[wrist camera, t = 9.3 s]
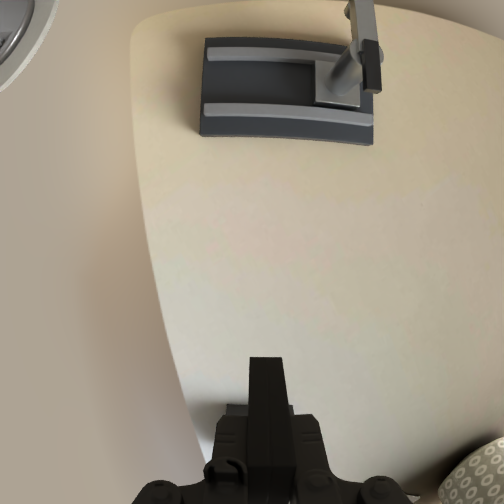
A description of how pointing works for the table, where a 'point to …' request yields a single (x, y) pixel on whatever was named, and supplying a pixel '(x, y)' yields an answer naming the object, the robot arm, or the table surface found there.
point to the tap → (350, 63)
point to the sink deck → (274, 92)
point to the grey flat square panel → (413, 498)
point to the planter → (477, 477)
